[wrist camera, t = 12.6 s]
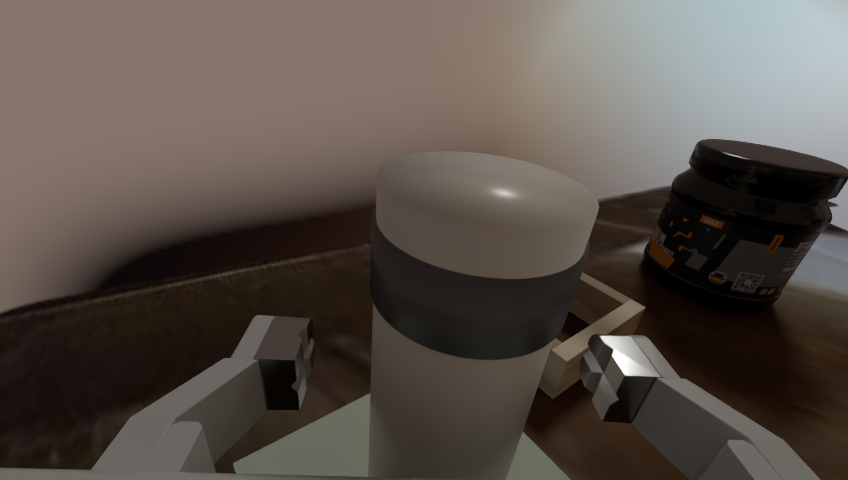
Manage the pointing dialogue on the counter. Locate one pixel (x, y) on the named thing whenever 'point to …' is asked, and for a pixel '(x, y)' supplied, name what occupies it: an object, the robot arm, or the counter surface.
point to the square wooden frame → (588, 331)
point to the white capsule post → (466, 306)
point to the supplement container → (741, 222)
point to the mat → (361, 450)
